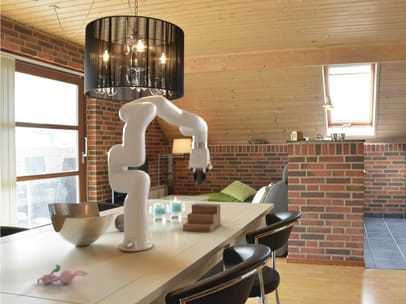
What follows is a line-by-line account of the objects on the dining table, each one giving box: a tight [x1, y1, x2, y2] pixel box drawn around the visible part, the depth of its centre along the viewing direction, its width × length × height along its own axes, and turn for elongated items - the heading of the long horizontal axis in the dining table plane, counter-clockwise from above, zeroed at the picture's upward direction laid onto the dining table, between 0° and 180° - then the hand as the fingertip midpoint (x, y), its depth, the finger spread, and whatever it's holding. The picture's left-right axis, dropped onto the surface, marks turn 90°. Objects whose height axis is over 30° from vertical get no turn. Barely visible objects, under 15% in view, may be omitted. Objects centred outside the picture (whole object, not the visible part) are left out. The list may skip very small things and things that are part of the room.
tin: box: [114, 213, 124, 232], centre depth 175 cm, size 15×3×8 cm, turn 143°
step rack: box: [182, 202, 222, 233], centre depth 177 cm, size 16×14×11 cm
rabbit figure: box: [36, 264, 89, 285], centre depth 104 cm, size 6×6×15 cm
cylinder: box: [195, 169, 205, 185], centre depth 183 cm, size 4×4×7 cm
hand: (200, 180), depth 183 cm, fingers closed on cylinder, 4 cm apart
